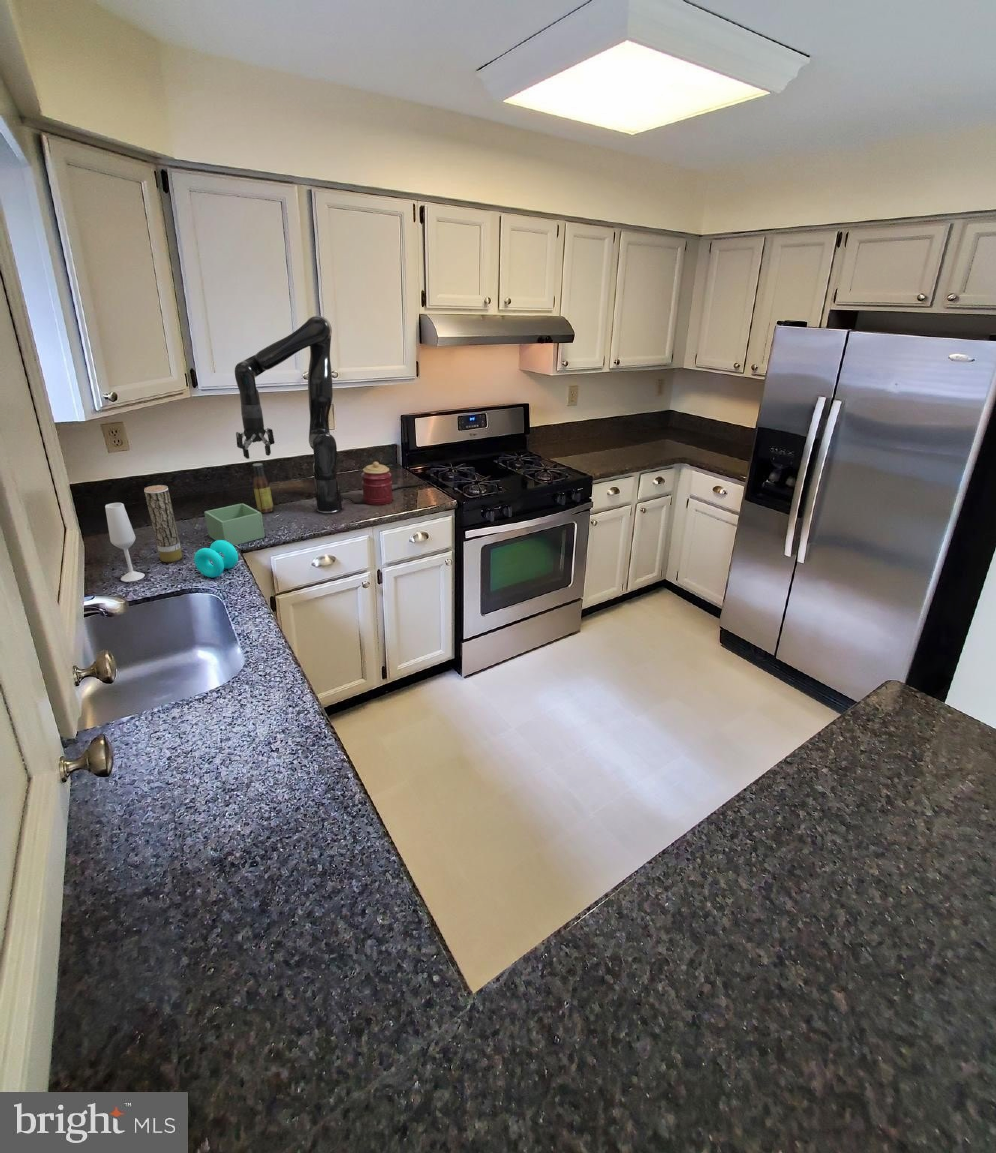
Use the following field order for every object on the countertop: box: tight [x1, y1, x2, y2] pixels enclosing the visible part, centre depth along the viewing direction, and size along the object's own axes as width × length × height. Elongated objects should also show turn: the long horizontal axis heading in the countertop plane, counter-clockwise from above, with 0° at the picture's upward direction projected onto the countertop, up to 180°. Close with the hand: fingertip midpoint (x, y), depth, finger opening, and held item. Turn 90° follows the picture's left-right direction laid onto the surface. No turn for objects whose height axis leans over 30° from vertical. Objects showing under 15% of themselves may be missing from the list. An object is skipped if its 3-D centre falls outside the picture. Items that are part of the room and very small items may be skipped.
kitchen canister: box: [360, 461, 394, 506], centre depth 261 cm, size 13×13×18 cm
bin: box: [204, 503, 266, 547], centre depth 220 cm, size 15×15×10 cm
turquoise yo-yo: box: [193, 540, 239, 578], centre depth 193 cm, size 10×10×10 cm
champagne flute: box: [104, 502, 146, 583], centre depth 184 cm, size 7×7×24 cm
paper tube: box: [143, 484, 183, 563], centre depth 197 cm, size 7×7×25 cm
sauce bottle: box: [251, 462, 274, 514], centre depth 243 cm, size 6×6×20 cm
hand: (257, 456), depth 238 cm, fingers open, 8 cm apart
